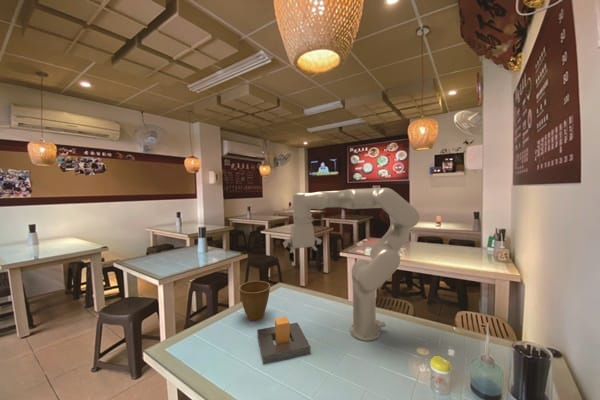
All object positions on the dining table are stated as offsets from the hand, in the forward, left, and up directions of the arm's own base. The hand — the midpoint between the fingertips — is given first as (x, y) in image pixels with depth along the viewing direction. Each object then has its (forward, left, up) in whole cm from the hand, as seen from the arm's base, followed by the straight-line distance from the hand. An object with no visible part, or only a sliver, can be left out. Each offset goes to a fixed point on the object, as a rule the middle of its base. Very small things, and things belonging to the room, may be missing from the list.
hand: (303, 260), depth 107 cm
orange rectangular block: (+11, +5, -32) cm, 34 cm away
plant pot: (+19, -20, -32) cm, 43 cm away
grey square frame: (+11, +5, -32) cm, 34 cm away
